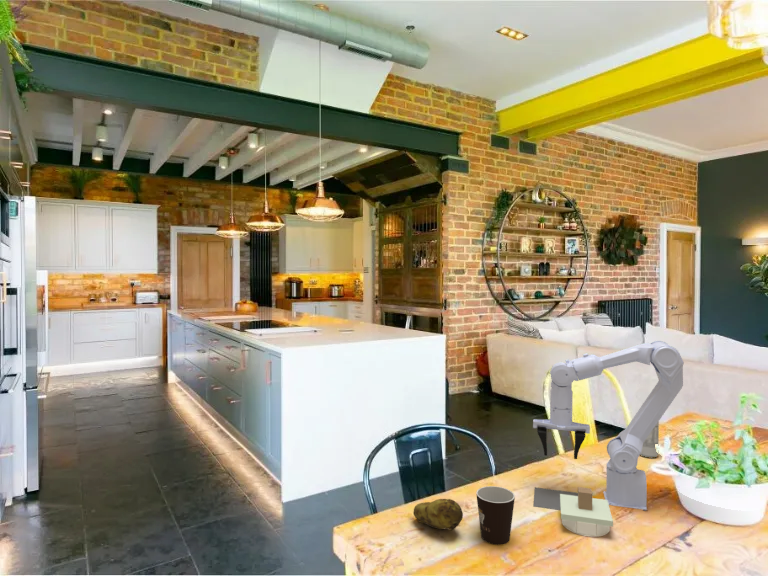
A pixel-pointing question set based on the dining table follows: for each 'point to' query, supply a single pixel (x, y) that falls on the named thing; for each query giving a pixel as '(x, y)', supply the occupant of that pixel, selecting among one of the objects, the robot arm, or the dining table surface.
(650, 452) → the energy drink can
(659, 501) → the dining table surface
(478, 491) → the coffee mug
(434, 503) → the potato
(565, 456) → the dining table surface
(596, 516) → the lid
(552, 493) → the mat
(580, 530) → the dish
